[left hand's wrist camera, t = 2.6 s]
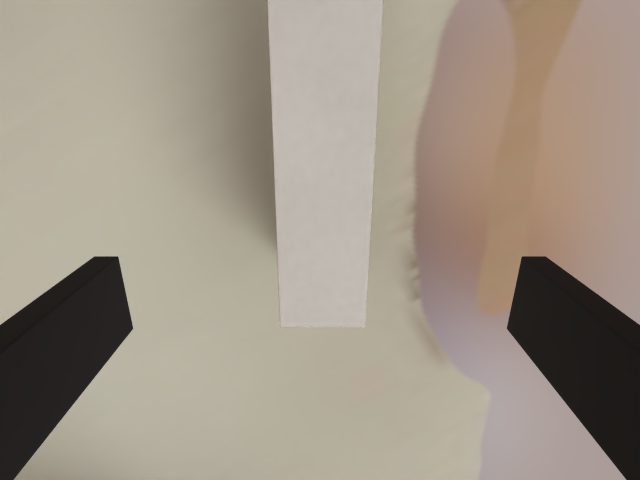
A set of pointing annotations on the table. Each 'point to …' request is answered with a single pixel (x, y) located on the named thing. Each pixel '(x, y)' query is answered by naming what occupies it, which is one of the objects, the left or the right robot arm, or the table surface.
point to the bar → (324, 155)
